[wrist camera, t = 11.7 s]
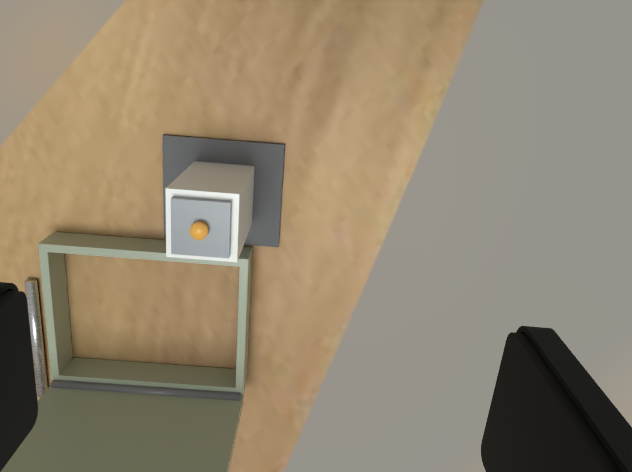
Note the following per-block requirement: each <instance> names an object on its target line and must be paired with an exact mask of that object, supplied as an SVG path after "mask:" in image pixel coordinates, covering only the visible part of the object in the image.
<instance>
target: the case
mask: <svg viewBox="0 0 632 472" xmlns="http://www.w3.org/2000/svg"><path fill="white" fill-rule="evenodd" d="M38 247H39V257H40V268H41V278H42V288H43V298H44V308H45V319H46V329H47V339H48V349H49V359H50V370H51V380H52V383H51V385H50V386H49V388H48V389H47V390H46V391H45V393H44V394H43V395H42V396H41V398H40V399H39V400H38V401H37V402H38V415H37V419H36V422H35V425H34V427H33V428H32V430H31V431H30V433H29V434H28V435H27V437H26V438H25V439H24V441H23V442H22V443H21V445H20V446H19V448H18V449H17V450H16V452H15V453H14V454H13V456H12V457H11V458H10V460H9V461H8V463H7V464H6V465H5V467H4V468H3V469H2V471H1V472H229V467H230V462H231V458H232V453H233V448H234V444H235V439H236V434H237V430H238V425H239V420H240V415H241V411H242V406H243V397H244V388H245V383H246V379H247V367H248V344H249V320H250V297H251V273H252V249H253V247H249V246H243V248H242V251H241V253H240V256H239V259H238V261H237V262H226V261H213V260H200V259H187V258H174V257H166V240H157V239H143V238H130V237H117V236H104V235H91V234H78V233H64V232H54V233H52V234H51V235H50V236H48V237H47V238H45V239H44V240H43V241H41V242H40V243H38ZM65 253H66V254H79V255H92V256H106V257H119V258H132V259H146V260H159V261H172V262H186V263H199V264H212V265H226V266H239V267H240V274H239V303H238V332H237V361H236V369H229V368H215V367H201V366H187V365H173V364H159V363H145V362H131V361H117V360H103V359H89V358H75V357H73V351H72V339H71V327H70V314H69V302H68V290H67V277H66V265H65Z"/></svg>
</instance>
